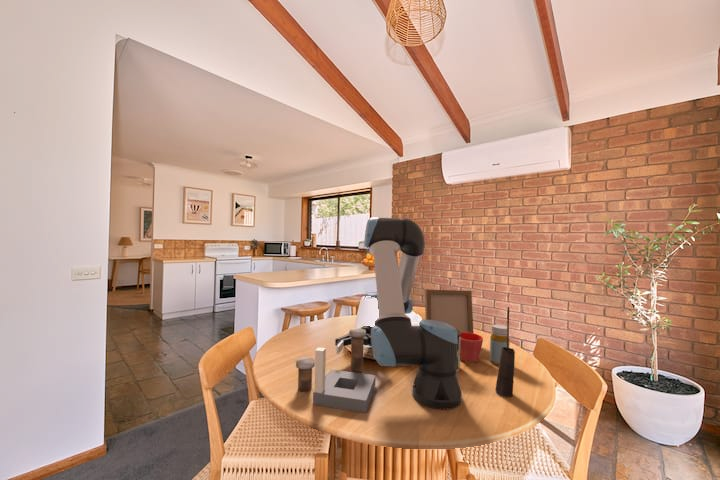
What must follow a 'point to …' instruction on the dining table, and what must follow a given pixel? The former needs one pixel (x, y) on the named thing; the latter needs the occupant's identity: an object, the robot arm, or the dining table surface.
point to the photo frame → (450, 308)
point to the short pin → (305, 373)
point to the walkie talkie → (506, 368)
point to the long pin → (357, 349)
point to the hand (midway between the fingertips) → (355, 352)
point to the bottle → (497, 342)
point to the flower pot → (470, 347)
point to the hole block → (341, 387)
